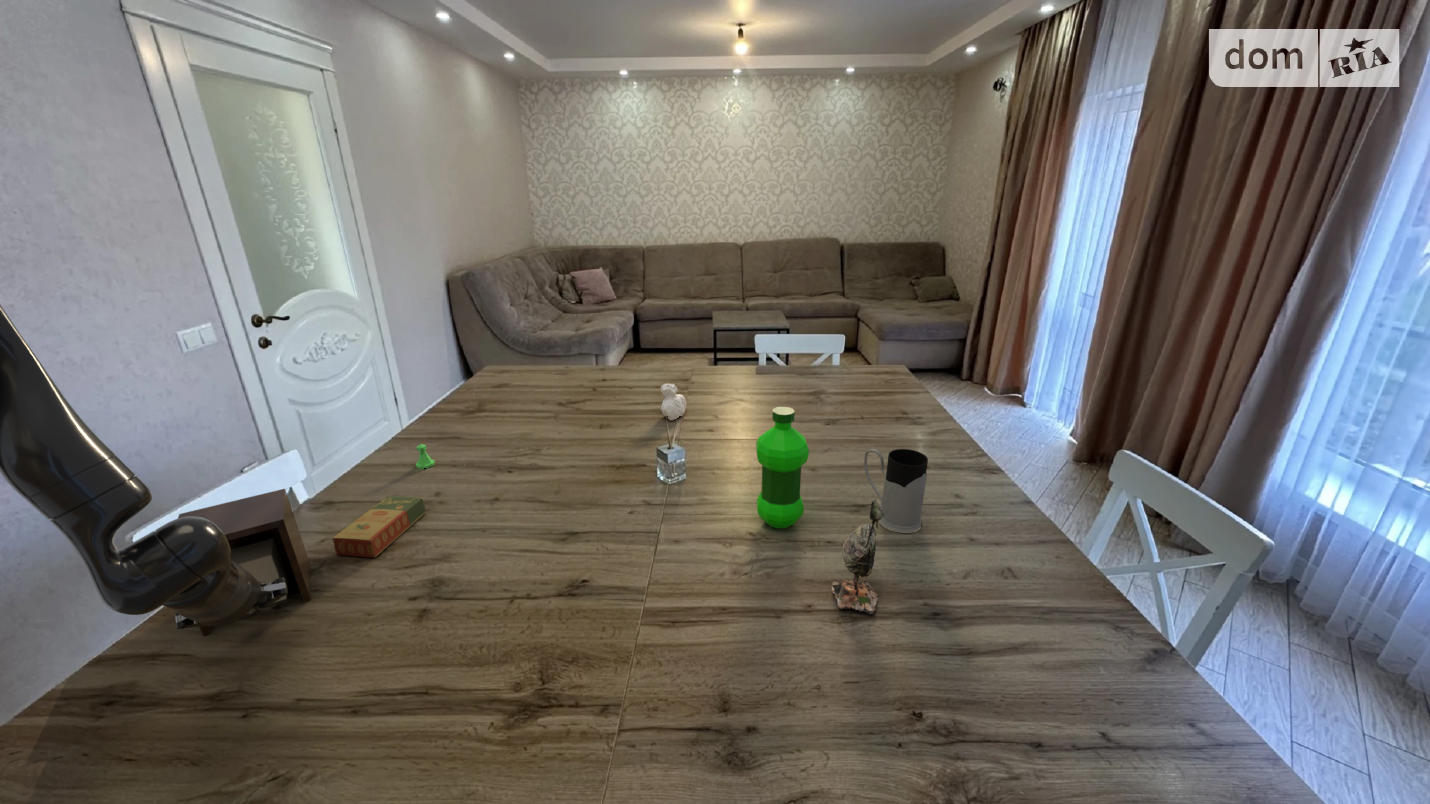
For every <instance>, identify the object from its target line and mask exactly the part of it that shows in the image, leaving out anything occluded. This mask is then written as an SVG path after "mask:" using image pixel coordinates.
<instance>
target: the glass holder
mask: <svg viewBox="0 0 1430 804" xmlns="http://www.w3.org/2000/svg"><path fill="white" fill-rule="evenodd" d="M870 452H874V453H876V454H877V456H878V457H879V460H880V471H881V473H882V474H884V481H883V490H882V494H881V492H880V491H879V489H878V487H877V486H876V485H875V483H874V482H873V480H872V478H871V475H870V472H869V466H868V456H869V453H870ZM887 455H888V456H887V463H886V470H885V469H884V466H885V460H884V457H883V454H882V453H881V452H880V451H879V450H878V449H875V448H871V449H868V450H866V452H865V453H864V458H863V466H864V471H865V475H866V478H867V481H868V482H869V484H870V486H871V487H872V489H873V490H874V491H875V493H876V495H877V496H878V497H879V499H880V502H881V504H882V506H883V509H884V516H883V517H882V518H881V520H879V521H881V523H882V524H883V525H885V526H886V527H887V528H890V529H893V530H895V531H897V532H913V531H915V530H917V529H918V528H920V527H921V523H922V520H921V518H922V511H923V505H924V498H925V497H924V496H925V492H926V491H925V490H926V484H927V477H928V473H927V470H928V463H929V458H928V456H927V455H925V454H924V453H922V452H921V451H918V450H914V449H909V448H896V449H892V450H891V451H889V452H888V454H887Z"/></svg>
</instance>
